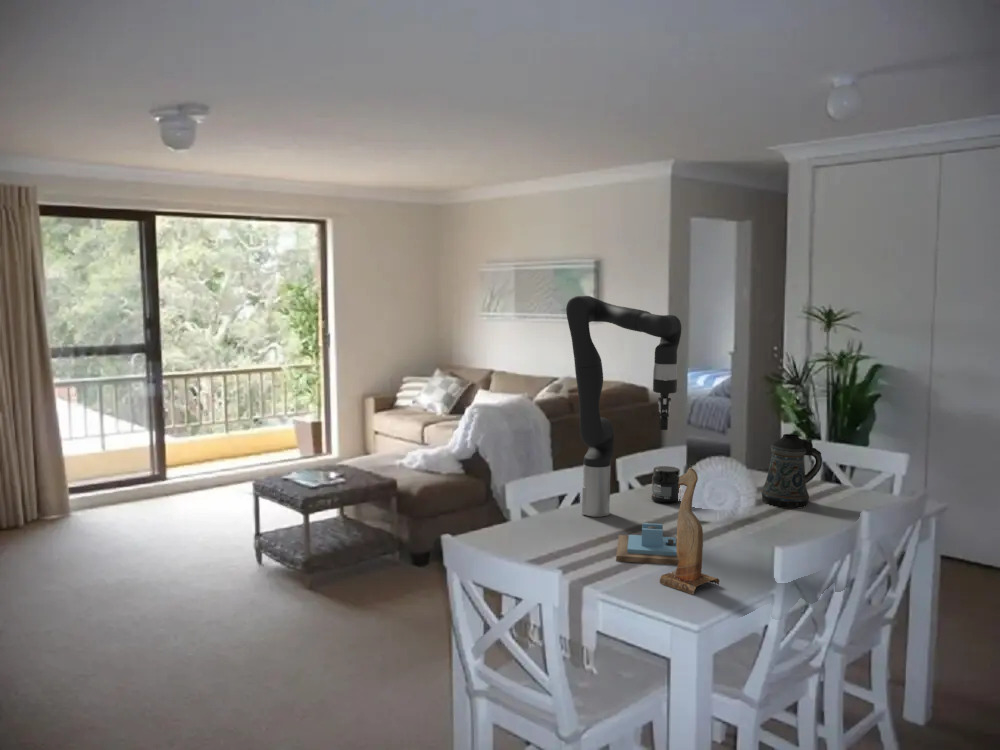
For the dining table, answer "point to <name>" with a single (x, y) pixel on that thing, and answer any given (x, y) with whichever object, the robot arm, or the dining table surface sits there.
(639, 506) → the dining table surface
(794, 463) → the beer stein
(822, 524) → the dining table surface
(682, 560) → the bird sculpture
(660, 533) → the flange plate
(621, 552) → the post board
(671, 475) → the supplement container
